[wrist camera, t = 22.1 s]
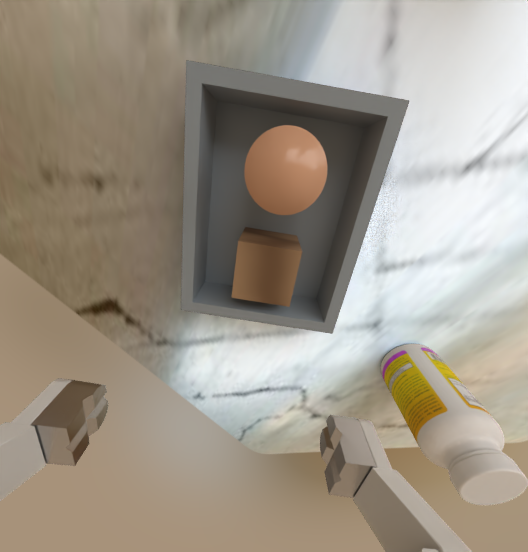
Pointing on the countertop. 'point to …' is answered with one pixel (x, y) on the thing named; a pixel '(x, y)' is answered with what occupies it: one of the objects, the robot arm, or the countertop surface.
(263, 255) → the cube
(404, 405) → the supplement bottle
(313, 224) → the tote
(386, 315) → the countertop surface
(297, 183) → the cylinder
